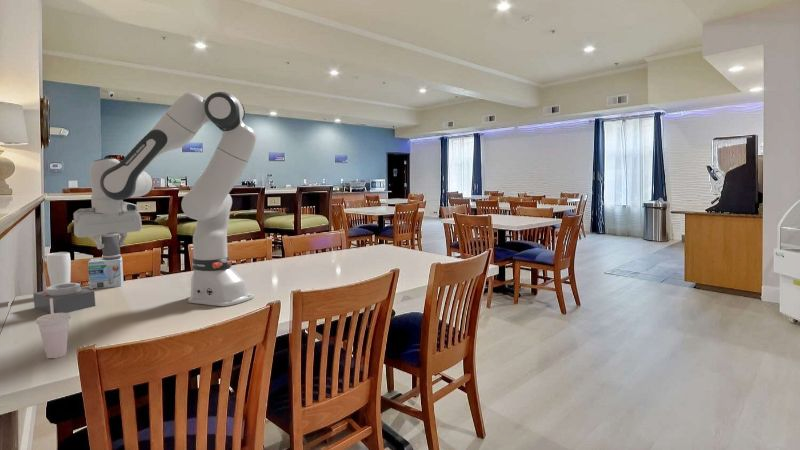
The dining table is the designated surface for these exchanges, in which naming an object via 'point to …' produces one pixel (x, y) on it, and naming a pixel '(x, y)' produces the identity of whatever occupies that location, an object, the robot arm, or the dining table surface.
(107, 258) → the lens
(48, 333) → the smoothie
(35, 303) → the camera body
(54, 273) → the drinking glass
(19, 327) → the dining table surface
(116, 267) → the light bulb box
